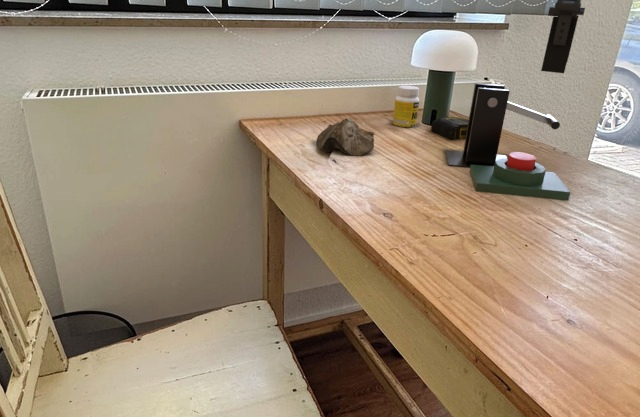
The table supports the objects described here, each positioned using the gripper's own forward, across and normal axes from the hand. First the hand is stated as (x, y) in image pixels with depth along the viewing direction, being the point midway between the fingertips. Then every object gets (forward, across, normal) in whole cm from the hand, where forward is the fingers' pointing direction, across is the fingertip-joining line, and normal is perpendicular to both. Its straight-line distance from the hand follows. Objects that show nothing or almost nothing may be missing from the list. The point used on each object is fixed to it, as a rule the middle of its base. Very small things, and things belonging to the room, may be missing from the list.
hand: (555, 66), depth 68 cm
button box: (+17, +7, -1) cm, 18 cm away
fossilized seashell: (+17, +4, -29) cm, 34 cm away
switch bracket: (+17, -2, -8) cm, 19 cm away
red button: (+13, +7, -1) cm, 15 cm away
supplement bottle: (+17, -17, -25) cm, 35 cm away
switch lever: (+8, -3, -4) cm, 10 cm away
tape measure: (+17, -15, -15) cm, 27 cm away
